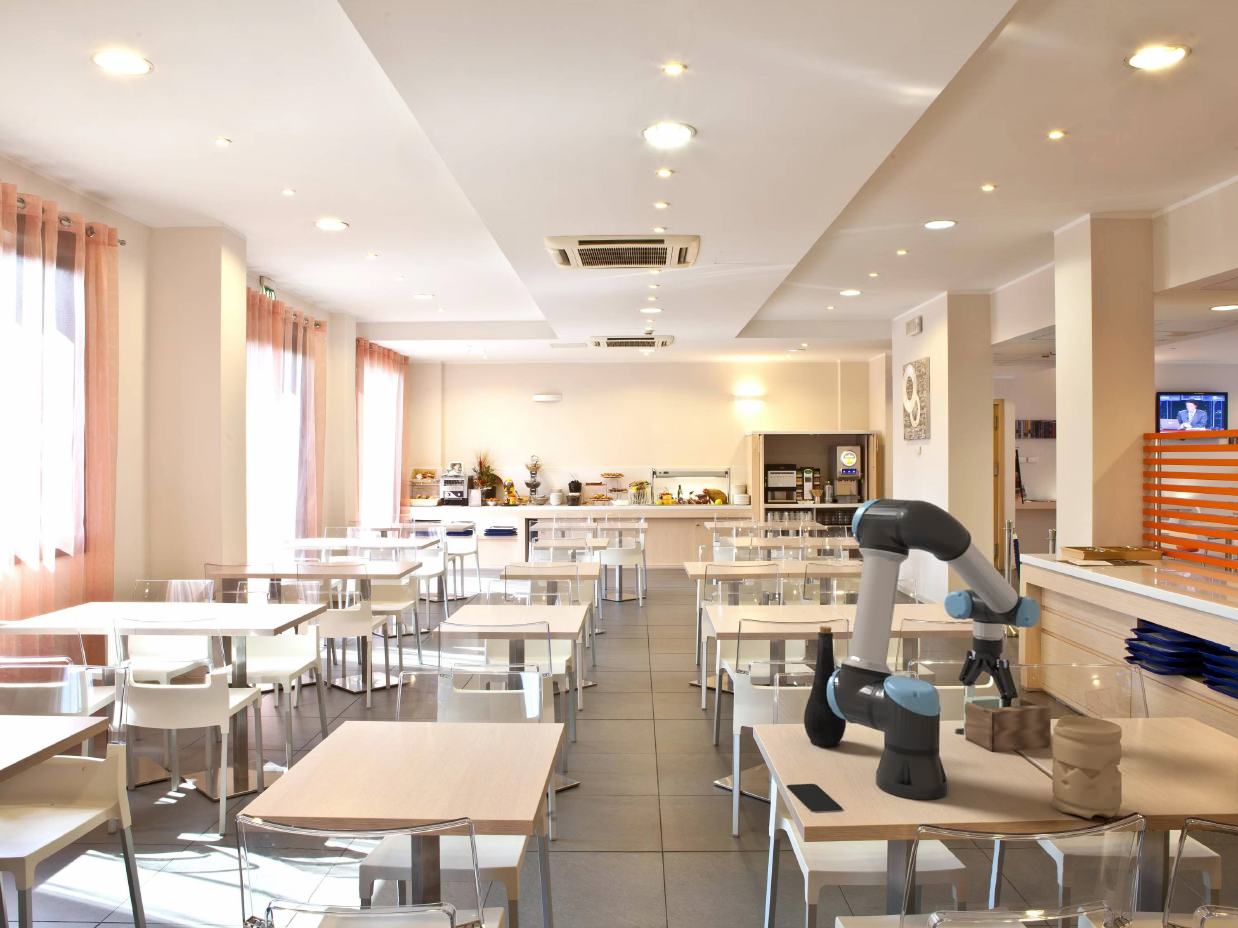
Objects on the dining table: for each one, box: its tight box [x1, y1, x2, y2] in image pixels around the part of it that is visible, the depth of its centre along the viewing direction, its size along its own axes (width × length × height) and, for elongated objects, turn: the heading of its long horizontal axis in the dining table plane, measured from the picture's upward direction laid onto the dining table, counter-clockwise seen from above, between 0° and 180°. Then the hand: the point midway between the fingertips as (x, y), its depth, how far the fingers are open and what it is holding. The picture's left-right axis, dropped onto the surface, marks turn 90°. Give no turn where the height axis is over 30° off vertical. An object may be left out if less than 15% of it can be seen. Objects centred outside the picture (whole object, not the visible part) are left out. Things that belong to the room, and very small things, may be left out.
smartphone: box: [785, 783, 844, 814], centre depth 176 cm, size 7×1×15 cm
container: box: [1051, 714, 1123, 820], centre depth 172 cm, size 13×13×18 cm
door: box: [963, 694, 1002, 736], centre depth 223 cm, size 12×3×10 cm, turn 105°
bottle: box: [803, 626, 847, 749], centre depth 213 cm, size 11×11×30 cm
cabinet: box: [954, 697, 1052, 752], centre depth 218 cm, size 18×16×10 cm
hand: (986, 716), depth 223 cm, fingers open, 13 cm apart
